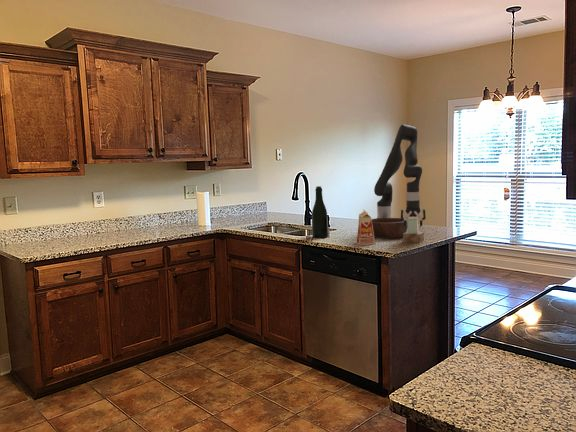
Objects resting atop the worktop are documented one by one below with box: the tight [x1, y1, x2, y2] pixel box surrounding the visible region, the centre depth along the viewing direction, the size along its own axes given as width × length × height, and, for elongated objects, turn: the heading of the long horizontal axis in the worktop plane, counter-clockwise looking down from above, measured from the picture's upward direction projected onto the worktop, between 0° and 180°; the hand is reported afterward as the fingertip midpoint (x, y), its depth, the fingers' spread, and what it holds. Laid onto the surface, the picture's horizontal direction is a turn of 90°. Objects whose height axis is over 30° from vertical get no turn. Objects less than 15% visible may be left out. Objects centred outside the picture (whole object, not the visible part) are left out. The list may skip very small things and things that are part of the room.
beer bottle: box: [311, 185, 329, 239], centre depth 311 cm, size 10×10×33 cm
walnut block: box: [402, 231, 425, 244], centre depth 285 cm, size 10×10×5 cm
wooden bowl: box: [371, 217, 408, 239], centre depth 306 cm, size 25×25×10 cm
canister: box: [407, 217, 419, 234], centre depth 285 cm, size 6×6×9 cm
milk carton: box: [355, 208, 375, 246], centre depth 282 cm, size 9×9×20 cm
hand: (413, 226), depth 285 cm, fingers open, 8 cm apart
